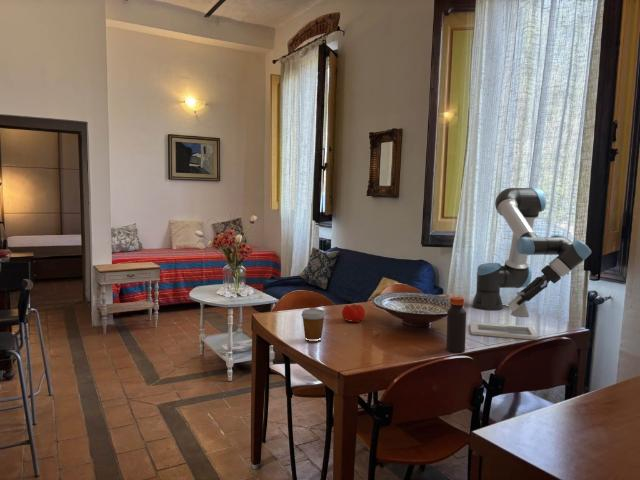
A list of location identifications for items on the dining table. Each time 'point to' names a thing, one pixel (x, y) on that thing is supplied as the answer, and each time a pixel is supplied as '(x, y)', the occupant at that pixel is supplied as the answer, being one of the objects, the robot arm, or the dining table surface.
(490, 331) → the keyhole plate
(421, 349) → the dining table surface
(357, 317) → the tomato
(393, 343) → the dining table surface
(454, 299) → the bottle
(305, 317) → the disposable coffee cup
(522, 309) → the flask
